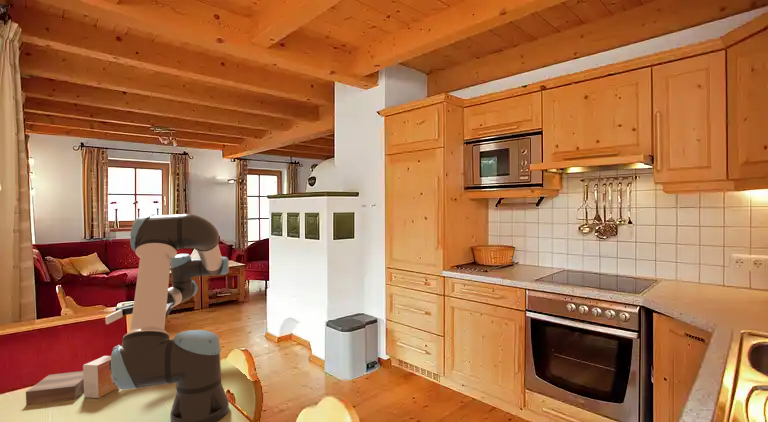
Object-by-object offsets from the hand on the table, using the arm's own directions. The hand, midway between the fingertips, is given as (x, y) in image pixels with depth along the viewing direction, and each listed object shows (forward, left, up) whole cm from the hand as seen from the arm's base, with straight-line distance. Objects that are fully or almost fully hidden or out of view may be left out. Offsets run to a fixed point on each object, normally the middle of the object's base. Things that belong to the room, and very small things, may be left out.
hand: (123, 322), depth 140 cm
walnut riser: (-3, +18, -20) cm, 27 cm away
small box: (-7, +5, -21) cm, 22 cm away
